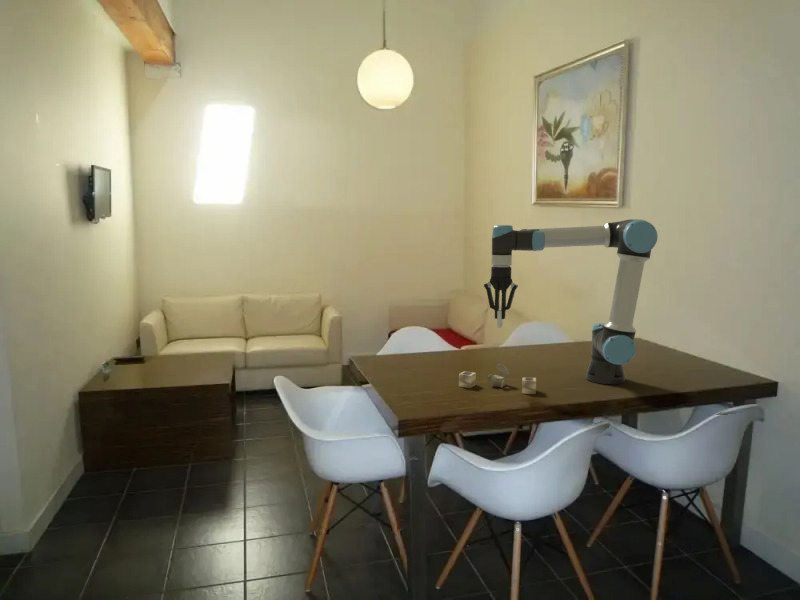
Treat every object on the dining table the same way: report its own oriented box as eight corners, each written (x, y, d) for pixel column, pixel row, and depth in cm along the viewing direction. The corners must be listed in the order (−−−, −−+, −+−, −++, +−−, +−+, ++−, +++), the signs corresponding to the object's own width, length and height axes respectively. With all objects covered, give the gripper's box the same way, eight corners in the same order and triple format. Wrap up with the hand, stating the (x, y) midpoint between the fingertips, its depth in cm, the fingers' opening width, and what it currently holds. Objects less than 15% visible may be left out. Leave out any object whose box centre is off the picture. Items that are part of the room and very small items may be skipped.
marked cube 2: (535, 390, 237) (535, 377, 236) (535, 394, 232) (536, 380, 232) (522, 389, 238) (522, 376, 237) (522, 393, 233) (522, 380, 232)
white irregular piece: (491, 386, 237) (489, 361, 241) (486, 390, 243) (484, 366, 247) (512, 386, 238) (510, 362, 242) (507, 391, 244) (505, 366, 248)
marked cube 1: (475, 385, 245) (475, 372, 244) (470, 388, 240) (470, 375, 240) (463, 383, 247) (464, 370, 246) (458, 386, 243) (458, 373, 242)
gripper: (520, 265, 237) (518, 326, 240) (486, 264, 241) (485, 324, 245) (516, 267, 230) (514, 330, 233) (482, 266, 234) (480, 327, 238)
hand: (499, 327), depth 239 cm, fingers closed
